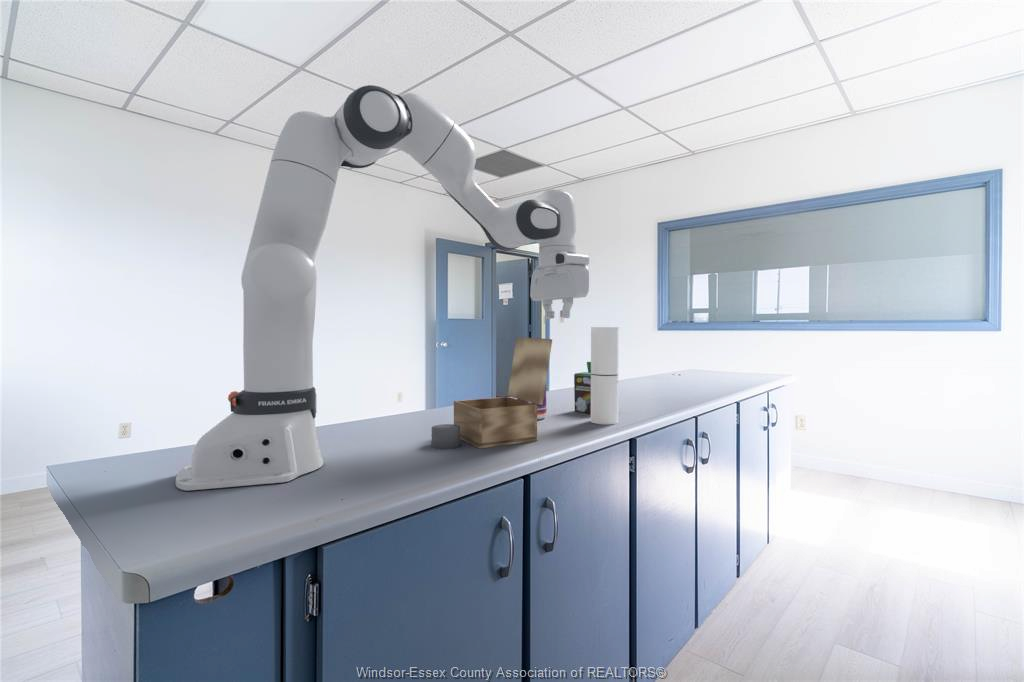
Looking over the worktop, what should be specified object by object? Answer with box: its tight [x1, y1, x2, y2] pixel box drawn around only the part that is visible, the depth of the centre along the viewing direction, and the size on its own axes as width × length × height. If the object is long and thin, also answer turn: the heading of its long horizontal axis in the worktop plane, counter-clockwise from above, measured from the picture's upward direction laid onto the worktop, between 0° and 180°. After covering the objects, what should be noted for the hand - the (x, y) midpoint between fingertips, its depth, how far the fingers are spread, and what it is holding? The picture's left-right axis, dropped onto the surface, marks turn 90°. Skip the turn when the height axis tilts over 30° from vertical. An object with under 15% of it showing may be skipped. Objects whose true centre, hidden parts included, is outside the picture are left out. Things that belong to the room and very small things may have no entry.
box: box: [453, 396, 538, 449], centre depth 111 cm, size 14×14×8 cm
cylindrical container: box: [590, 326, 620, 425], centre depth 130 cm, size 7×7×25 cm
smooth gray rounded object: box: [431, 423, 461, 450], centre depth 104 cm, size 6×6×4 cm
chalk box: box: [573, 361, 591, 415], centre depth 146 cm, size 9×9×15 cm
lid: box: [507, 336, 553, 405], centre depth 115 cm, size 15×15×1 cm
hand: (557, 318), depth 118 cm, fingers open, 5 cm apart
